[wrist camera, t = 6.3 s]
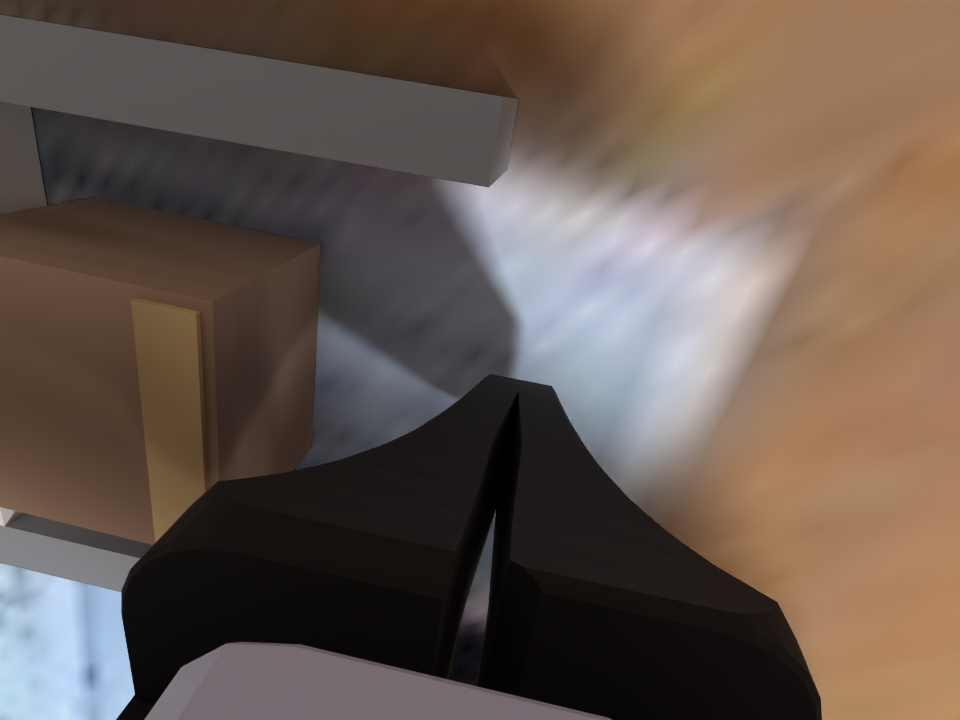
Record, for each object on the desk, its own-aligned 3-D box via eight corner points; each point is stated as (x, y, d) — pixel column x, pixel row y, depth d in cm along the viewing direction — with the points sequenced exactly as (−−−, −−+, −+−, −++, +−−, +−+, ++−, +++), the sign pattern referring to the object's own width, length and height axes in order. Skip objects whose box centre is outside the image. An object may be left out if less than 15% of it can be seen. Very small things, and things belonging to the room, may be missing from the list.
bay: (441, 578, 15) (417, 663, 13) (55, 490, 16) (-32, 554, 13) (518, 99, 10) (502, 96, 8) (-43, 7, 11) (-206, -19, 9)
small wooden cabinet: (313, 444, 14) (219, 566, 10) (122, 399, 14) (-37, 502, 11) (323, 242, 12) (208, 303, 8) (98, 195, 12) (-111, 235, 8)
